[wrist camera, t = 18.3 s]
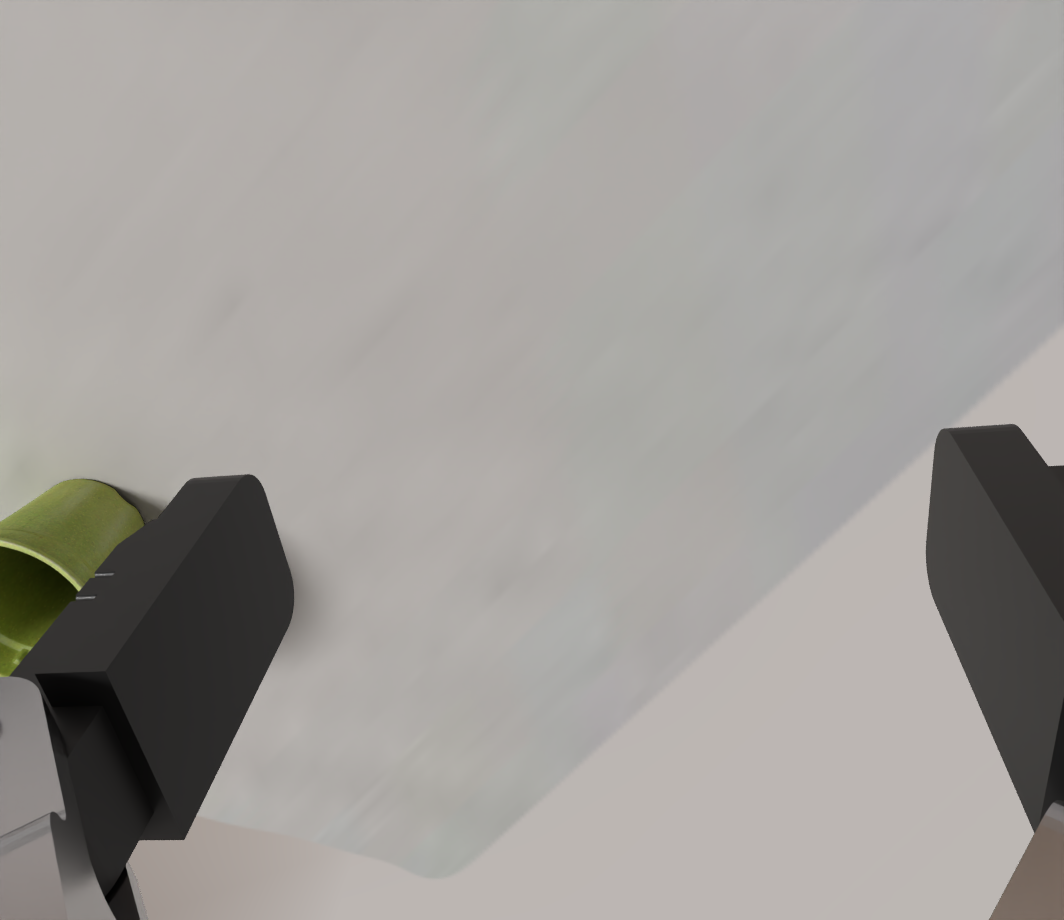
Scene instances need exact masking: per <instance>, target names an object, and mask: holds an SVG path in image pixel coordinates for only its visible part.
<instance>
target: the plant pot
mask: <svg viewBox="0 0 1064 920" xmlns="http://www.w3.org/2000/svg"><path fill="white" fill-rule="evenodd" d="M143 526H145V525H144V522H143V520H142V517H141V515H140V514H139V512H138V511H137V509H136V508H135V507H134V506H132V505H130V504H129V503H127V502H126V501H125V500H124V499H123V498H122V497H121V496H120V495H119V494H118V493H117V492H116V490H115V489H113V488H112V487H110V486H108V485H105V484H103V483H100V482H97V481H93V480H87V479H73V480H67V481H64V482H61V483H59V484H57V485H55V486H53V487H52V488H50V489H49V490H48V491H46V492H45V493H43V494H42V495H40V496H39V497H37V498H36V499H34V500H33V501H31V502H30V503H28V504H27V505H25V506H24V507H22V508H21V509H20V510H18V511H17V512H15V513H13V514H12V515H10V516H9V517H7V518H6V519H4V520H3V521H1V522H0V677H9V676H10V674H11V673H12V672H13V671H14V670H15V668H16V667H17V666H18V665H19V664H20V662H21V661H22V660H23V659H24V657H25V656H26V655H27V654H28V653H29V651H30V650H31V649H32V648H33V647H34V645H35V644H36V643H37V642H38V640H39V639H40V638H41V637H42V636H43V634H44V633H45V632H46V631H47V630H48V628H49V627H50V626H51V625H52V623H53V622H54V621H55V620H56V619H57V617H58V616H59V615H60V614H61V613H62V611H63V610H64V609H65V608H66V607H67V605H68V604H69V603H70V602H72V601H76V594H77V593H78V592H79V591H80V590H81V588H82V587H83V586H84V585H85V583H86V582H87V581H88V580H89V579H90V578H95V571H96V570H97V569H98V568H99V566H100V565H101V564H102V563H103V562H104V560H105V559H106V558H107V557H108V556H109V554H110V553H111V552H112V551H113V549H114V548H115V547H116V546H117V545H118V544H119V543H121V542H122V541H123V540H125V539H126V538H128V537H129V536H130V535H132V534H133V533H135V532H136V531H137V530H139V529H140V528H142V527H143Z"/></svg>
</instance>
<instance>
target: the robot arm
mask: <svg viewBox="0 0 1064 920" xmlns="http://www.w3.org/2000/svg"><path fill="white" fill-rule="evenodd" d="M926 563H927V573H928V580H929V585H930V589H931V593H932V596H933V599H934V601H935V604H936V606H937V609H938V611H939V613H940V616H941V618H942V620H943V623H944V625H945V627H946V630H947V632H948V634H949V636H950V639H951V641H952V643H953V646H954V648H955V650H956V652H957V655H958V657H959V659H960V662H961V664H962V667H963V669H964V671H965V673H966V676H967V678H968V680H969V683H970V685H971V687H972V690H973V692H974V694H975V697H976V699H977V701H978V704H979V706H980V708H981V710H982V713H983V715H984V717H985V720H986V722H987V724H988V727H989V729H990V731H991V734H992V736H993V738H994V741H995V743H996V745H997V747H998V750H999V752H1000V754H1001V757H1002V759H1003V761H1004V763H1005V766H1006V768H1007V771H1008V772H1009V775H1010V778H1011V780H1012V782H1013V784H1014V787H1015V789H1016V791H1017V794H1018V796H1019V798H1020V800H1021V803H1022V805H1023V808H1024V810H1025V812H1026V814H1027V817H1028V819H1029V821H1030V824H1031V826H1032V828H1033V830H1034V835H1033V837H1032V839H1031V841H1030V843H1029V845H1028V847H1027V849H1026V850H1025V853H1024V854H1023V856H1022V858H1021V860H1020V862H1019V864H1018V866H1017V868H1016V870H1015V871H1014V873H1013V875H1012V877H1011V879H1010V881H1009V883H1008V885H1007V887H1006V888H1005V890H1004V893H1003V894H1002V896H1001V898H1000V900H999V902H998V904H997V905H996V907H995V909H994V911H993V913H992V915H991V917H990V919H989V920H1064V466H1048V465H1047V464H1046V463H1045V461H1044V460H1043V459H1042V457H1041V456H1040V455H1039V453H1038V452H1037V451H1036V449H1035V448H1034V447H1033V445H1032V444H1031V443H1030V441H1029V440H1028V439H1027V437H1026V436H1025V434H1024V433H1023V432H1022V430H1021V429H1020V428H1019V427H1018V426H1016V425H1014V424H1007V425H992V426H976V427H961V428H947V429H942V430H941V431H940V432H939V434H938V436H937V439H936V444H935V451H934V461H933V472H932V483H931V495H930V506H929V518H928V529H927V541H926ZM293 606H294V588H293V581H292V576H291V572H290V569H289V566H288V563H287V560H286V557H285V553H284V550H283V547H282V544H281V541H280V538H279V535H278V531H277V528H276V525H275V522H274V519H273V516H272V513H271V509H270V506H269V503H268V500H267V497H266V494H265V491H264V488H263V486H262V485H261V483H260V481H259V480H258V479H257V478H256V477H255V476H253V475H249V474H247V475H232V476H217V477H202V478H193V479H190V480H189V481H187V482H186V483H185V485H184V486H183V487H182V488H181V490H180V491H179V492H178V493H177V495H176V496H175V497H174V498H173V500H172V501H171V502H170V503H169V505H168V506H167V507H166V509H165V510H164V511H163V512H162V514H161V515H160V516H159V517H158V519H155V520H152V521H150V522H149V523H147V524H146V525H145V526H143V527H142V528H140V529H139V530H137V531H136V532H135V533H133V534H132V535H130V536H129V537H128V538H126V539H125V540H123V541H122V542H121V543H119V544H118V545H117V546H116V547H115V548H114V549H113V551H112V552H111V553H110V554H109V556H108V557H107V558H106V559H105V560H104V562H103V563H102V564H101V565H100V566H99V568H98V569H97V570H96V571H95V578H90V579H89V580H88V581H87V582H86V583H85V585H84V586H83V587H82V588H81V590H80V591H79V592H78V593H77V594H76V601H72V602H70V603H69V604H68V605H67V607H66V608H65V609H64V610H63V611H62V613H61V614H60V615H59V616H58V617H57V619H56V620H55V621H54V622H53V623H52V625H51V626H50V627H49V628H48V630H47V631H46V632H45V633H44V634H43V636H42V637H41V638H40V639H39V640H38V642H37V643H36V644H35V645H34V647H33V648H32V649H31V650H30V651H29V653H28V654H27V655H26V656H25V657H24V659H23V660H22V661H21V662H20V664H19V665H18V666H17V667H16V668H15V670H14V671H13V672H12V673H11V674H10V676H9V677H0V920H148V917H147V913H146V909H145V906H144V902H143V899H142V895H141V891H140V888H139V884H138V881H137V878H136V876H135V873H134V872H133V870H132V868H131V866H130V864H129V862H128V860H129V858H130V856H131V854H132V852H133V850H134V849H135V847H136V845H137V843H138V841H139V840H184V839H185V837H186V835H187V833H188V831H189V829H190V827H191V825H192V823H193V821H194V819H195V817H196V815H197V813H198V811H199V809H200V807H201V805H202V802H203V800H204V798H205V796H206V794H207V792H208V790H209V788H210V786H211V784H212V782H213V780H214V778H215V776H216V774H217V772H218V770H219V768H220V766H221V764H222V762H223V760H224V758H225V755H226V753H227V751H228V749H229V747H230V745H231V743H232V741H233V739H234V737H235V735H236V733H237V731H238V729H239V727H240V725H241V723H242V721H243V719H244V717H245V715H246V713H247V711H248V708H249V706H250V704H251V702H252V700H253V698H254V696H255V694H256V692H257V690H258V688H259V686H260V684H261V682H262V680H263V678H264V676H265V674H266V672H267V670H268V668H269V666H270V664H271V661H272V659H273V657H274V655H275V653H276V651H277V649H278V647H279V645H280V643H281V641H282V639H283V637H284V635H285V633H286V631H287V629H288V627H289V624H290V621H291V618H292V613H293Z"/></svg>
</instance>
